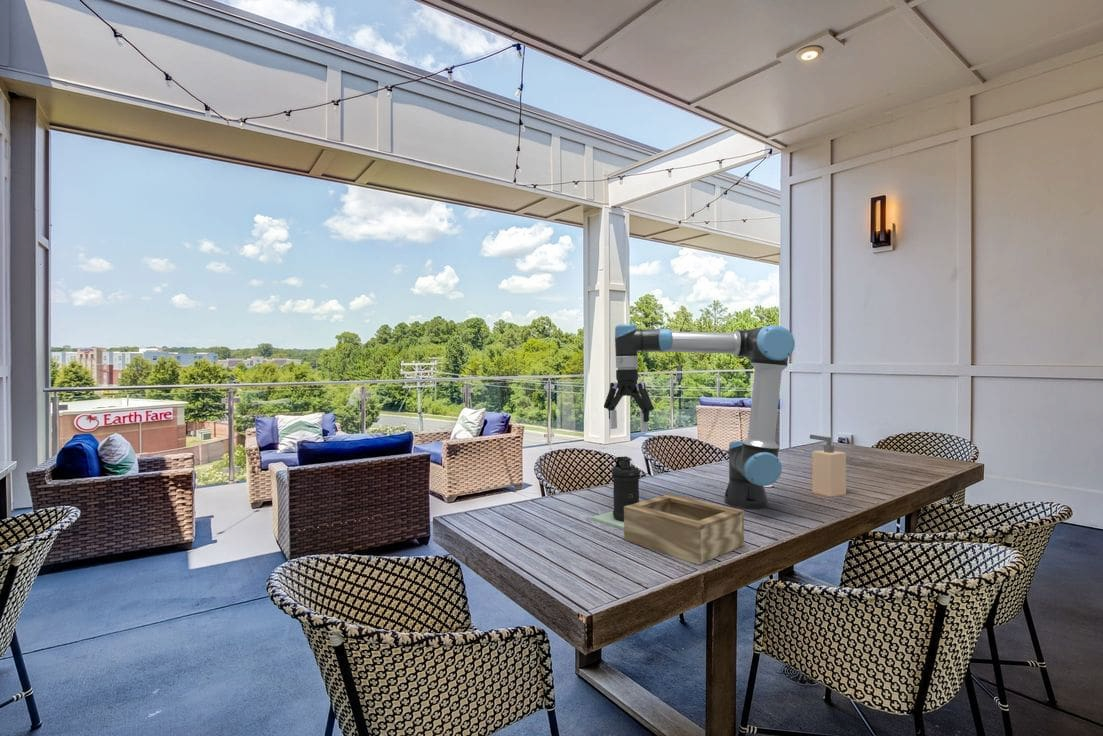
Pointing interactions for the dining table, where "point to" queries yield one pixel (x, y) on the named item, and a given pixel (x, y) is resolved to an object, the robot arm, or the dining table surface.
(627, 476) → the black shaker bottle
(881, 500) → the dining table surface
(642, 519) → the crate
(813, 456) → the soap dispenser
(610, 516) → the board
